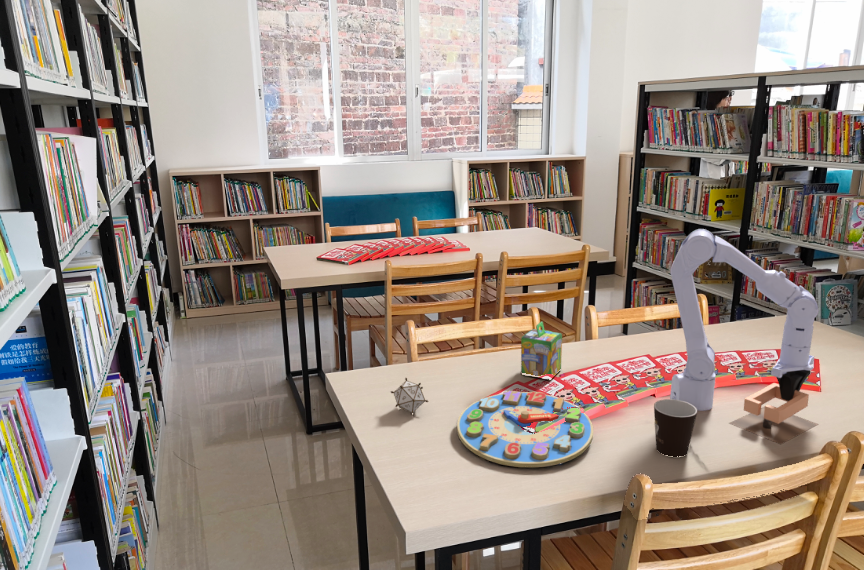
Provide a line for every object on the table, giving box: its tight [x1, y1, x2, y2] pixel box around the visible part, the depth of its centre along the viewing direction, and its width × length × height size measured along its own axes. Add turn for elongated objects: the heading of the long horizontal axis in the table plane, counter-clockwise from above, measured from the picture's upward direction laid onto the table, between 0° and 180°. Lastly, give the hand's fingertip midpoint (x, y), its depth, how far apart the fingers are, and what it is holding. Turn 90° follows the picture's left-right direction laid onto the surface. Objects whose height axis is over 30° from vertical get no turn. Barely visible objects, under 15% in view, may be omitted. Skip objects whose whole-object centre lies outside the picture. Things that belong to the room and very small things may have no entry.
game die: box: [390, 377, 429, 414], centre depth 156 cm, size 9×8×10 cm
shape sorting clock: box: [456, 390, 594, 468], centre depth 143 cm, size 31×30×6 cm
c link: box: [743, 382, 810, 424], centre depth 143 cm, size 12×8×3 cm, turn 123°
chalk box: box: [520, 321, 563, 376], centre depth 177 cm, size 9×9×15 cm
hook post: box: [763, 418, 772, 429], centre depth 143 cm, size 2×2×4 cm
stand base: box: [729, 406, 819, 445], centre depth 145 cm, size 16×12×1 cm
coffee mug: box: [653, 398, 698, 458], centre depth 136 cm, size 12×9×10 cm
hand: (788, 398), depth 146 cm, fingers closed on c link
